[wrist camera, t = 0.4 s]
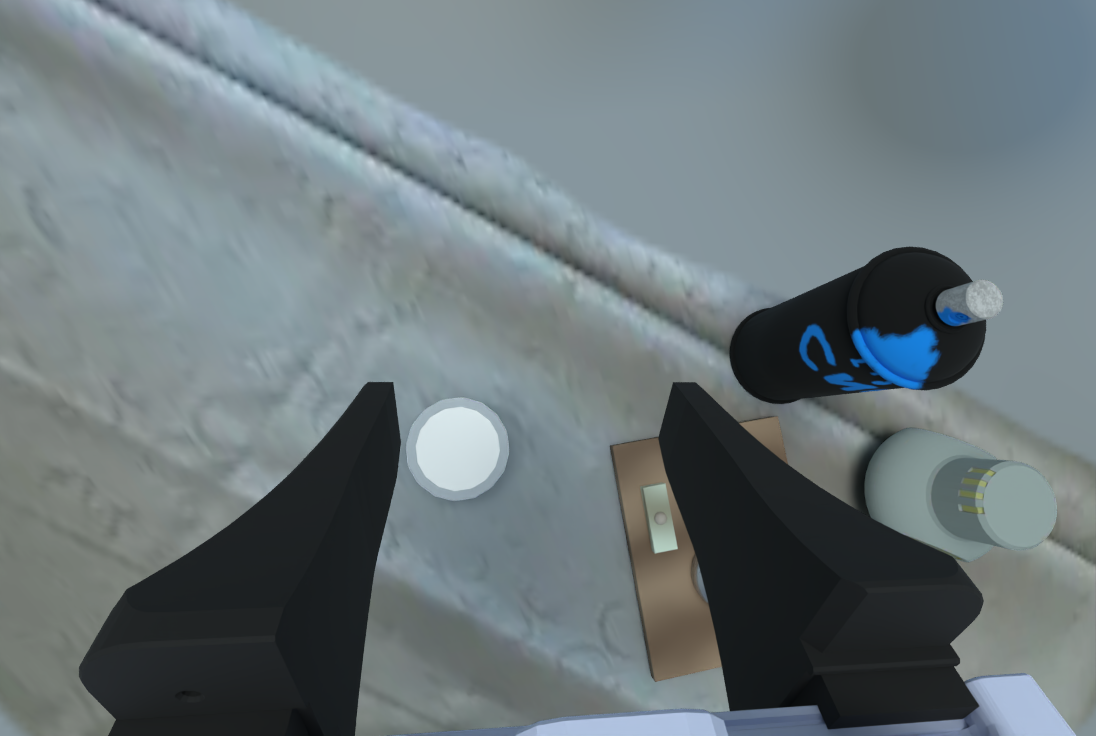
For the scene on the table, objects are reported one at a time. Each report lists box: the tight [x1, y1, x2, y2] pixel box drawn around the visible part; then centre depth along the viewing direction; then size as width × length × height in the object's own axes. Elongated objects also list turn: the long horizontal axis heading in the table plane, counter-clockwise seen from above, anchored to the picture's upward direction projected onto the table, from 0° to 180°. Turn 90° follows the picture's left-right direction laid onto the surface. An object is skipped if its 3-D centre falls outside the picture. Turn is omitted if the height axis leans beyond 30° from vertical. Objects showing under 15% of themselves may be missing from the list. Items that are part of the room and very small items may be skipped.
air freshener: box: [864, 428, 1057, 562], centre depth 41 cm, size 11×8×10 cm
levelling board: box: [610, 416, 788, 682], centre depth 42 cm, size 18×14×2 cm
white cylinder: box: [406, 397, 510, 501], centre depth 39 cm, size 7×7×7 cm
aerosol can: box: [730, 247, 1003, 404], centre depth 36 cm, size 8×8×20 cm
